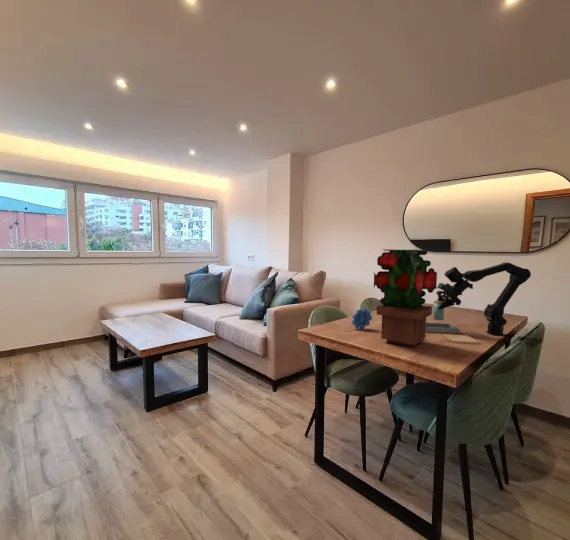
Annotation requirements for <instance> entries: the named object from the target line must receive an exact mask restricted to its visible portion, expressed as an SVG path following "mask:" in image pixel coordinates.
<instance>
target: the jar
mask: <svg viewBox="0 0 570 540" xmlns="http://www.w3.org/2000/svg"><path fill="white" fill-rule="evenodd" d="M442 303H443V301H437V300H434V301H433V312H432V313H433V314H432V315H433V316H432V317H433V318H432V319H433V320H434V321H435V320H436V321H444V320H445V308H443V309H440V310H439V309H438V307H439V306H440V305H441V304H442Z"/></svg>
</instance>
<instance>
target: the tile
mask: <svg viewBox="0 0 570 540" xmlns="http://www.w3.org/2000/svg"><path fill="white" fill-rule="evenodd" d="M442 335H443V336H444V337H446V338H447V339H448V340H449V341H450V342H451V343H452V344H470V345H479V344H480V342H479V341H478V340H477V339H474V338H473V337H471V336H470V335H467V334H451V333H442Z"/></svg>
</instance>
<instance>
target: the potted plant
mask: <svg viewBox="0 0 570 540" xmlns="http://www.w3.org/2000/svg"><path fill="white" fill-rule="evenodd" d="M382 250H383V251H384V252H382V253H381V255H379V256H378V257H377V259H376V260H377V261H376V262H377V263H376V264H377V265H378V267H379V266H380V269H381V271H377V273H376V272H375V271H374V272H373V288H375V287H376V289H379V290H380V292H381V293H383V297H382V298H380V300H379V301H380V305H377V306H376V315H377V316H381V333H380V335H381V336H380V338H381V339H382V340H383V339H384V340H386V343H388V342H390V343H389V344H393V343H394V345H397V344H399V345H398V346H402V345H403V347H407V346H408V347H407V348H413V347H415V346H416V345H418V344H419V343H420V342H422V341H423V340H425V339H426V333H427V332H426V323H427V317H429V316H432V315H433V314H432V313H433V306H431V305H424V304H425V303H426V299H425V298H423V297H426V294H427V293H426V291H425V290H427V292H428V293H430V294H432V293H433V292H434V291H435V290H436V289H437V287H438V285H437V281H438V272H437V271H435V269H434V268H432V267H431V268H428V267H430V266H431V265H432V262H431V261H430V260H427V259H426V260H424V258H423V257H422V256H426V255H427V254H428V250H427V249H383V248H382ZM427 268H428V269H427ZM382 270H384V271H382ZM427 270H428V271H427ZM417 343H418V344H417ZM414 345H415V346H414Z"/></svg>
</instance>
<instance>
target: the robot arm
mask: <svg viewBox="0 0 570 540" xmlns="http://www.w3.org/2000/svg"><path fill="white" fill-rule="evenodd" d="M503 272H506V273H507V274H509V281H508V283H507V284H506V286H505V287H504V288H503V290H502V291H501V293H500V295H499V296H498V297H497V299H496V300H495V301H494V303H492V304H489V303H488V304H487V305H486V307H485V308H484V309H483V310H484V312H483V316H484V317H485V318H486V321H487V322H488V324H487V331H485V333H487V334H489V335H493V336H506V334H505V333H504V330H505V329H504V326H505V325H507V323H508V320H507V319H506V318H505V317H503V316H504V314H505V307H506V306H507V304H508V303H509V302H510V300H511V298H512V297H513V295H514V294H515V292H517V290H518V289H519V287H520V286H521V285H522V284H524V283H526V282H527V281H528V280H529V279H530V278H531V276H532V274H531V271H530V270H529V269H528V268H523V267H520V266H517V265H515V264H513V263H511V262H502V263H498V264H495V265H493V266H489V267H486V268H481V269H474V270H467V271H465V272H464V273H463V272H462V273H461V271H459V269H458V268H457V266H453V267H452V268H450V269H448V270H446V271H445V273H444V274H443V275H444V276H445V278H447V279H448V280H449V281H450V282H451V283H454V284H453V285H451V283H443V282H439V283H438V285H437V286H436V289H439V290H437V291H436V292H435V293H436V295H437V299H436V301H443V303H442V304H441V305H440V306H439V307H438V309H439V310H440V309H443V308H444V309H446V308H448V307H453V306H455V305H456V306H460V305H461V304H462V300H461V299H460V298H459V296H463V292H465V291H466V290H467V289H471V290H473V289H474V285H473V283H477V282H479V281H481V280H483V279H484V278H486V277H488V276H491V275H492V276H493V275H495V274H499V273H503ZM470 282H472V283H470Z"/></svg>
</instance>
